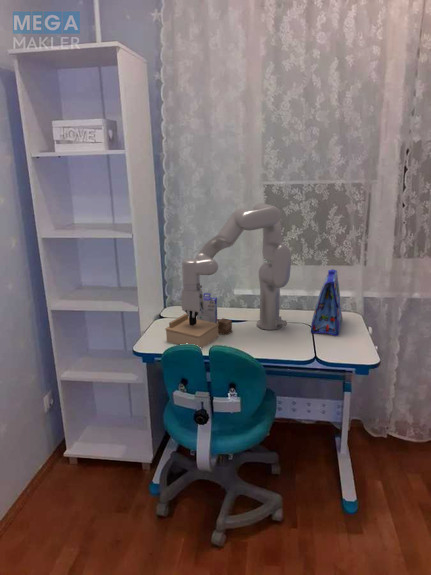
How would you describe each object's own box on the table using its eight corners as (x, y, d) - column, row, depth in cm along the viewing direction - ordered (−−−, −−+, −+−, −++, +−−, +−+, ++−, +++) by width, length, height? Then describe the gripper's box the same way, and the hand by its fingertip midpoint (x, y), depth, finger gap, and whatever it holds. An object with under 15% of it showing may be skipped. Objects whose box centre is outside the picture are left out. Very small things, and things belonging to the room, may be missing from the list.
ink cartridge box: (217, 319, 238) (217, 292, 234) (215, 323, 233) (215, 296, 229) (199, 318, 240) (198, 292, 236) (196, 322, 235) (195, 295, 231)
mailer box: (218, 336, 218) (218, 326, 216) (199, 349, 205) (199, 338, 203) (186, 329, 227) (186, 319, 225) (166, 341, 214) (166, 330, 212)
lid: (218, 325, 216) (218, 318, 215) (199, 338, 203) (198, 331, 202) (186, 318, 225) (185, 312, 224) (165, 330, 212) (165, 323, 211)
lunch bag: (339, 336, 215) (343, 277, 206) (309, 333, 219) (312, 274, 210) (342, 320, 234) (346, 264, 226) (315, 317, 239) (318, 262, 230)
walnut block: (231, 331, 223) (231, 319, 222) (226, 335, 219) (226, 323, 218) (222, 329, 226) (222, 318, 224) (217, 333, 222) (217, 321, 220)
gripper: (210, 286, 207) (211, 324, 213) (182, 281, 215) (184, 318, 220) (200, 291, 201) (202, 330, 207) (173, 286, 209) (174, 324, 214)
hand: (192, 324), depth 213 cm, fingers closed
